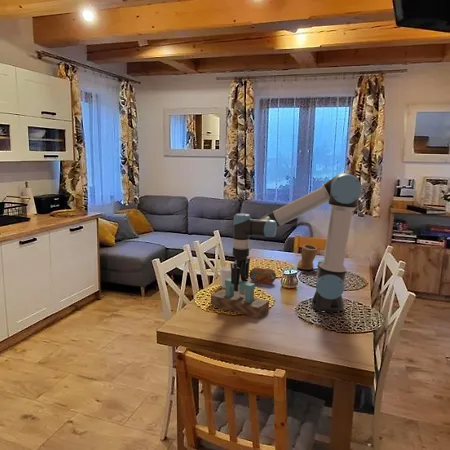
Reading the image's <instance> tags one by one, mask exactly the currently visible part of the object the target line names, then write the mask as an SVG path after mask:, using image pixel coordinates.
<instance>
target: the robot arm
mask: <svg viewBox="0 0 450 450" xmlns="http://www.w3.org/2000/svg"><path fill="white" fill-rule="evenodd" d="M361 193H362V185H361V182H360V180H359V178H357V176H355V175H354V174H352V173H349V172H341V173H338V174H336V175H335V176H334V177H332V178H331V179H329V180H328V181H325V182H324V183H322V185H321V187H319V188H318V189H315V190H312V191H310V192H309V193H307V194H305V195H302V196H301V197H299V198H298V199H295V200H293V201H291V202H290V203H287V204H285V205H283V206H281V207H280V208H278V209H275V210H273V211H272V212H270V213H267V214H264V215H263V216H261V218H259V219H255V218H254V219H253V218H251V215H250V214H249V213H236V214H235V215H233V221H232V223H233V224H232V226H233V227H232V256H233V257H234V259H233V260H234V261H233V263H230V267H231V284H234V297H236V298H240V294H241V295H245V290H243V289H240V284H239V280H241V281H245V282H249V278H250V262H251V258H248V257H249V256H250V237H251V236H253V237H264V238H274V237H276V235H277V229H278V227H281V226H282V225H285V224H286V223H288V222H290V221H293V220H294V219H296V218H298V217H301V216H302V215H305V214H307V213H309V212H311V211H313V210H315V209H317V208H319V207H321V206H323V205H326V204H328V205H329V207H330V208H331V211H330V217H329V223H328V229H327V234H326V235H327V236H326V242H325V248H324V249H325V250H324V255H323V259H321V260H318V262H317V268H316V269H317V271H316V283H315V292H314V295H313V297H312V299H311V303H310V304H311V305H312V306H311V308H312V307H313V308H312V309H314V308H315V309H317V310H320V311H325V312H338V311H342V310H343V309H345V303H344V299H343V294H344V291H345V287H346V286H345V281H346V273H347V268H346V267H345V265H344V263H345V257H346V252H347V246H348V245H347V244H348V240H349V234H350V233H349V232H350V227H351V221H352V216H353V212H354V210H356V209H357V207H358V203H359V198H360V195H361ZM315 309H314V310H315ZM317 310H316V311H317ZM320 311H319V312H320ZM343 311H344V310H343ZM343 311H342V312H343ZM325 312H324V313H325Z"/></svg>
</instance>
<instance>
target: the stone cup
mask: <svg viewBox="0 0 450 450" xmlns="http://www.w3.org/2000/svg"><path fill="white" fill-rule="evenodd" d="M317 252H318V248H317V247H316V246H314V245H312V244H304V245H303V246H302V247H301V255H300V256H301V259H300V260H299V261H298V262H297V265H296V267H297V268H298V269H299V270H306V271H307V270H308V271H309V270H313V267H314V260H315V258H316V256H317Z"/></svg>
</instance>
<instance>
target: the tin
mask: <svg viewBox="0 0 450 450" xmlns="http://www.w3.org/2000/svg"><path fill="white" fill-rule="evenodd" d="M249 278H250V280H251V281H252V283H258V284H265V285H271V284H273V283H274V282H275V281H276V278H277V274H276V272H275V271H274V270H273V269H271V268H265V267H258V266H257V267H254V268H251V269H250V270H249Z"/></svg>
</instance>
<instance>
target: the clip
mask: <svg viewBox="0 0 450 450" xmlns="http://www.w3.org/2000/svg"><path fill="white" fill-rule="evenodd" d="M239 284H240V289H243V290H245V302H246V303H252V302H253V301H254V298H255V289H256V283H255V282H249V281H247V282H245V281H242V280H241V279H240V280H239ZM224 290H225V297H228V298H231V297H233V296H234V284H231V278H229V279H226V280H225V288H224Z"/></svg>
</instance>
